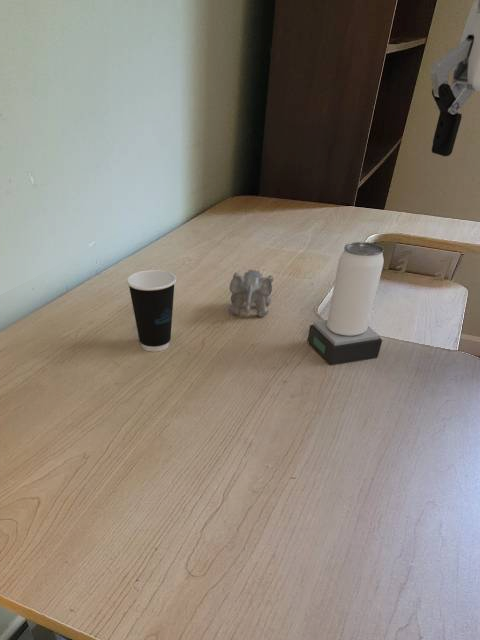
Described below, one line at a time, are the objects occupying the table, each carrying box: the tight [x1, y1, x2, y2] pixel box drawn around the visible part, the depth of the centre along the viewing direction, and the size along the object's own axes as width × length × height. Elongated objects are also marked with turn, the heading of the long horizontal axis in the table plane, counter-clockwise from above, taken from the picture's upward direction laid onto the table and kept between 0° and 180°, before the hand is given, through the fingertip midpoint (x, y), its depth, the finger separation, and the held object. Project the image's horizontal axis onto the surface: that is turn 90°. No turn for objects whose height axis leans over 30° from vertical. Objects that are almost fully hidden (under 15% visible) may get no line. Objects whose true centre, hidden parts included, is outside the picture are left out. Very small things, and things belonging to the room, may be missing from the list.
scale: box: [307, 319, 383, 366], centre depth 86 cm, size 9×9×4 cm
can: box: [327, 241, 385, 336], centre depth 80 cm, size 6×6×12 cm
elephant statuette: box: [229, 269, 274, 318], centre depth 94 cm, size 9×12×8 cm
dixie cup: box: [126, 269, 177, 353], centre depth 86 cm, size 8×8×11 cm
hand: (475, 150), depth 64 cm, fingers open, 9 cm apart
